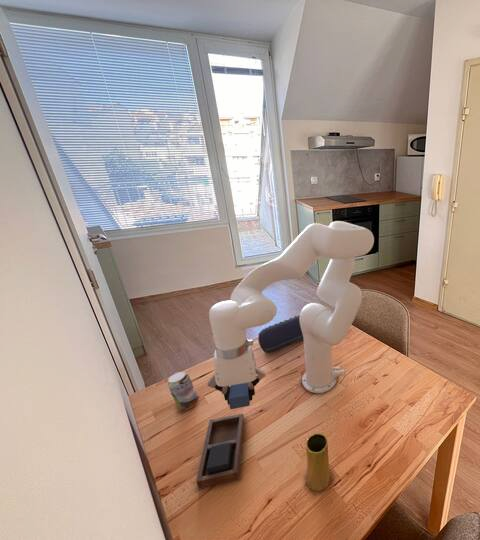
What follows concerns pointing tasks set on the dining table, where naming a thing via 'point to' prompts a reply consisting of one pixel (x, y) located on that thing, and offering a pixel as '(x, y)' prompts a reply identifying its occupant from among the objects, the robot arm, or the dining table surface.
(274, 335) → the portable speaker
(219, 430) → the brown divided wooden tray
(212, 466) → the dark grey rectangular block
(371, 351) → the dining table surface
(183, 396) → the beverage can
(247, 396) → the blue rectangular block
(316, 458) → the vase
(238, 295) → the robot arm
